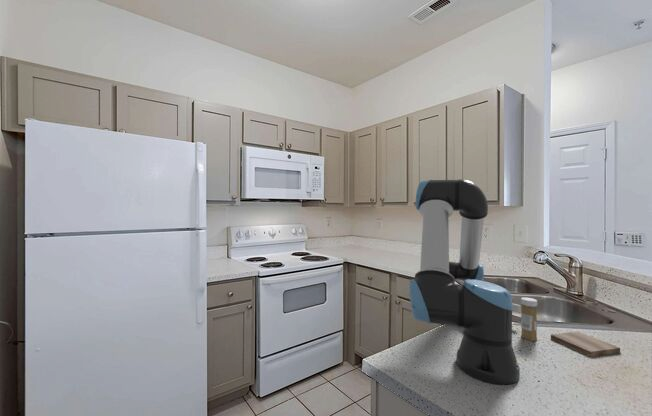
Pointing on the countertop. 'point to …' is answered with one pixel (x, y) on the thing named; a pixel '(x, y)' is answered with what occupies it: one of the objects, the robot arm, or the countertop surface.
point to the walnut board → (585, 344)
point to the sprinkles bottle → (529, 318)
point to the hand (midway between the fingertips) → (511, 312)
